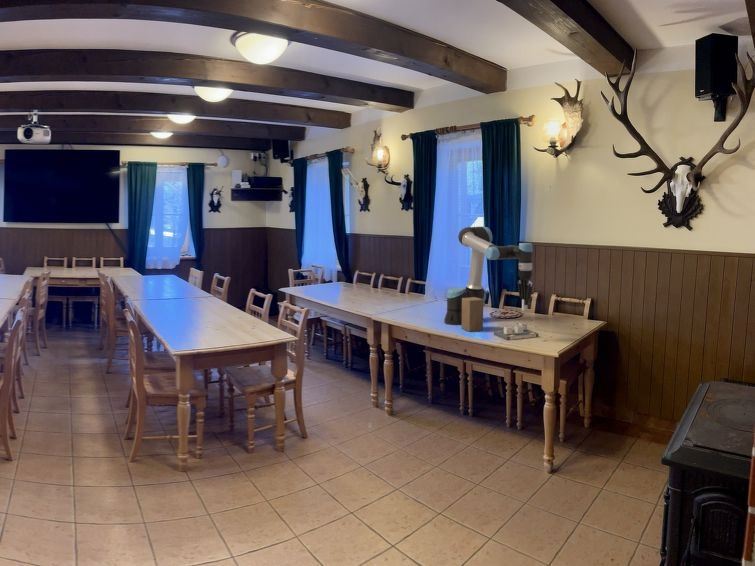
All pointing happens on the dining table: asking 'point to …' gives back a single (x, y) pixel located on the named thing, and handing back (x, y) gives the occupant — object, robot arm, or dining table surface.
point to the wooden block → (472, 314)
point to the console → (516, 335)
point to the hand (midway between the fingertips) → (524, 310)
